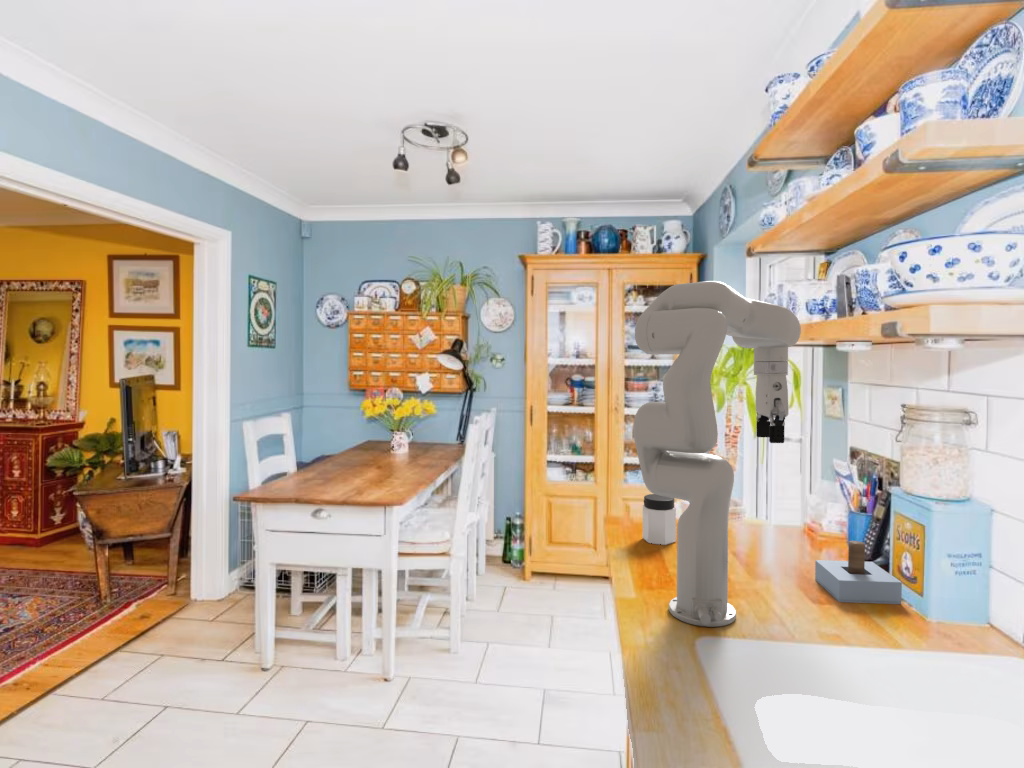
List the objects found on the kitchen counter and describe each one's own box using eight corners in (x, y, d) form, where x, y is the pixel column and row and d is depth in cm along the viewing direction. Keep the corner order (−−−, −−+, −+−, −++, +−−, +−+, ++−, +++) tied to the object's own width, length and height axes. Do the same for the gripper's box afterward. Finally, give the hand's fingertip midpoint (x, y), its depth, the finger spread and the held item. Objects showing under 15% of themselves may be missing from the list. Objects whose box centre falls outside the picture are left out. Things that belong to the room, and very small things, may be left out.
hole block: (901, 604, 118) (901, 582, 118) (838, 601, 120) (839, 580, 119) (871, 581, 130) (872, 561, 130) (815, 579, 131) (815, 560, 131)
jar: (657, 533, 167) (657, 492, 166) (681, 540, 160) (681, 497, 160) (636, 539, 161) (636, 496, 161) (660, 547, 155) (660, 502, 154)
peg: (866, 591, 123) (867, 545, 123) (851, 591, 124) (852, 545, 123) (859, 586, 126) (860, 540, 126) (845, 585, 126) (846, 540, 126)
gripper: (800, 369, 131) (799, 445, 132) (774, 368, 148) (774, 435, 149) (765, 370, 132) (765, 445, 133) (744, 368, 149) (743, 435, 150)
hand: (769, 439), depth 141 cm, fingers open, 9 cm apart
